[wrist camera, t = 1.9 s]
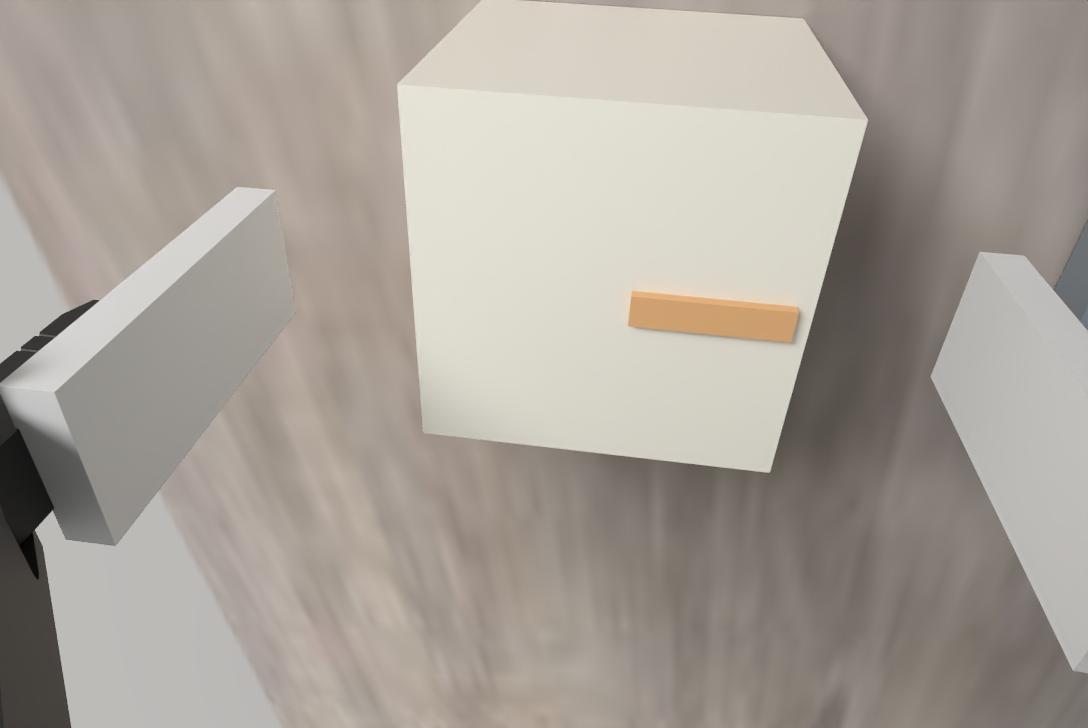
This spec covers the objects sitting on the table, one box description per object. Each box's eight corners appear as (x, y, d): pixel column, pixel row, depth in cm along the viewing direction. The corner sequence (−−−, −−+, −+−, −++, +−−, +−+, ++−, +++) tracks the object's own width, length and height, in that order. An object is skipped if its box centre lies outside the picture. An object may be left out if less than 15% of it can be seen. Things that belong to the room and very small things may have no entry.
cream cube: (483, -2, 17) (393, 88, 12) (803, 18, 17) (871, 124, 11) (486, 273, 21) (420, 439, 16) (744, 298, 21) (770, 479, 15)
